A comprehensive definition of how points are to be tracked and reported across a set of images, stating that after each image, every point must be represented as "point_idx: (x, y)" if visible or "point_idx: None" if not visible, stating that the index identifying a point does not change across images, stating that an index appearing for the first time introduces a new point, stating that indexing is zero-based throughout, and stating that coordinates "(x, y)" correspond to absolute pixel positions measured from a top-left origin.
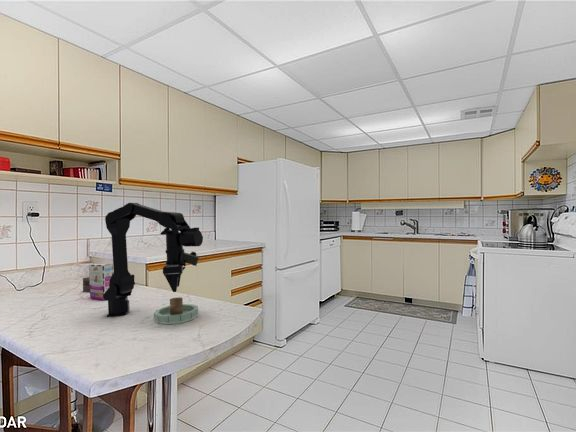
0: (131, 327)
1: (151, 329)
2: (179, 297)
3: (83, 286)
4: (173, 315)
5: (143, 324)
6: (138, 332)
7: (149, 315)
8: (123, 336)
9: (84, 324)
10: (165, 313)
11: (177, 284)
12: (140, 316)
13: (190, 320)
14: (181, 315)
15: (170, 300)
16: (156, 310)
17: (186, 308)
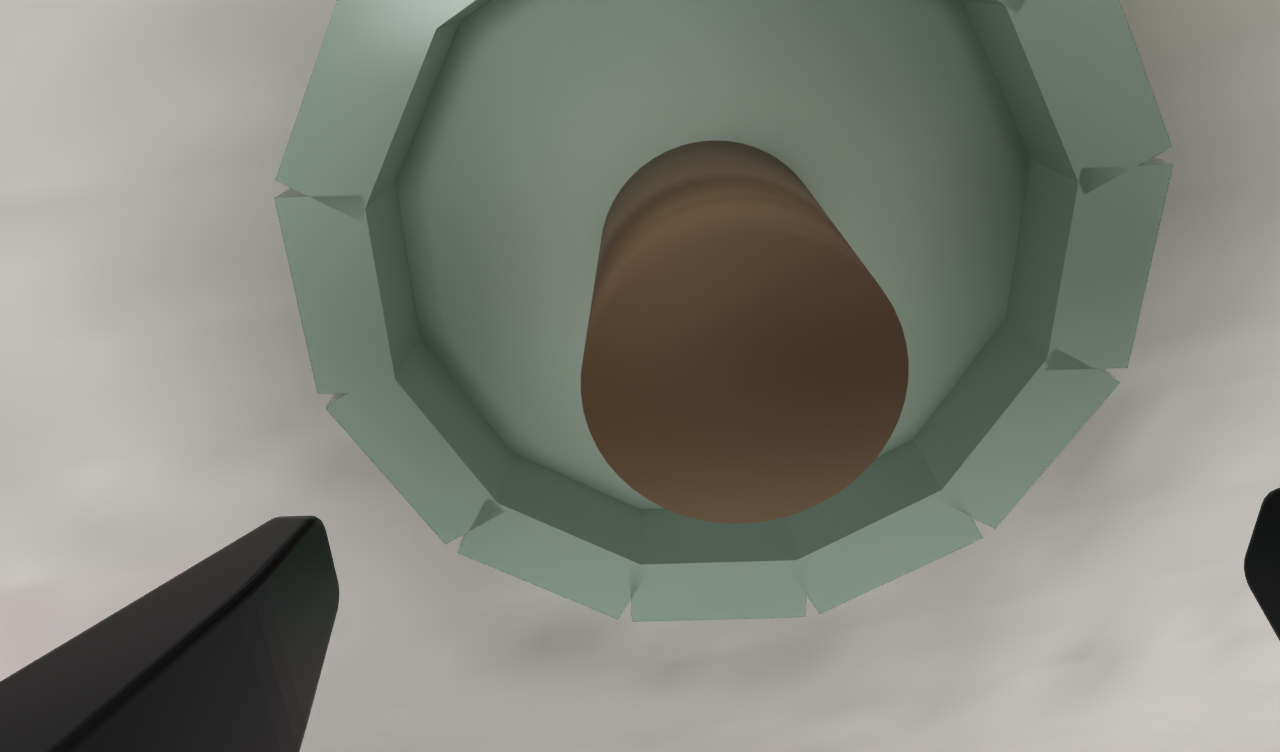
0: (934, 727)
1: (1154, 504)
2: (599, 325)
3: None
4: (1109, 289)
5: (871, 633)
6: (1188, 622)
7: (461, 642)
8: (1240, 730)
9: None
10: (530, 453)
11: (305, 608)
12: (481, 730)
13: None
14: (1162, 131)
15: (829, 496)
16: (631, 611)
17: (417, 109)
